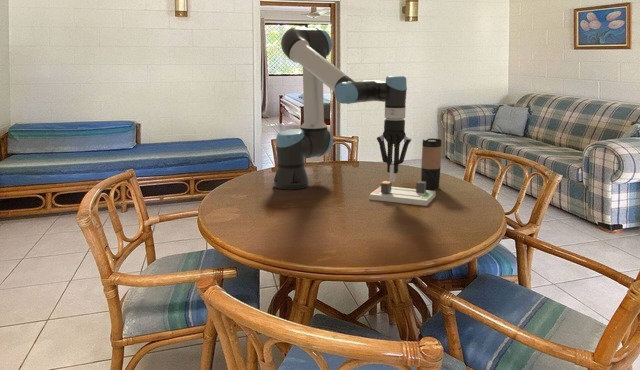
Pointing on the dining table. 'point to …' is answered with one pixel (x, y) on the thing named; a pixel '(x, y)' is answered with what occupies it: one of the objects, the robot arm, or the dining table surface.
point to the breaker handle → (386, 187)
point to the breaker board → (406, 195)
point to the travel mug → (431, 163)
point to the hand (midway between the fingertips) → (392, 181)
